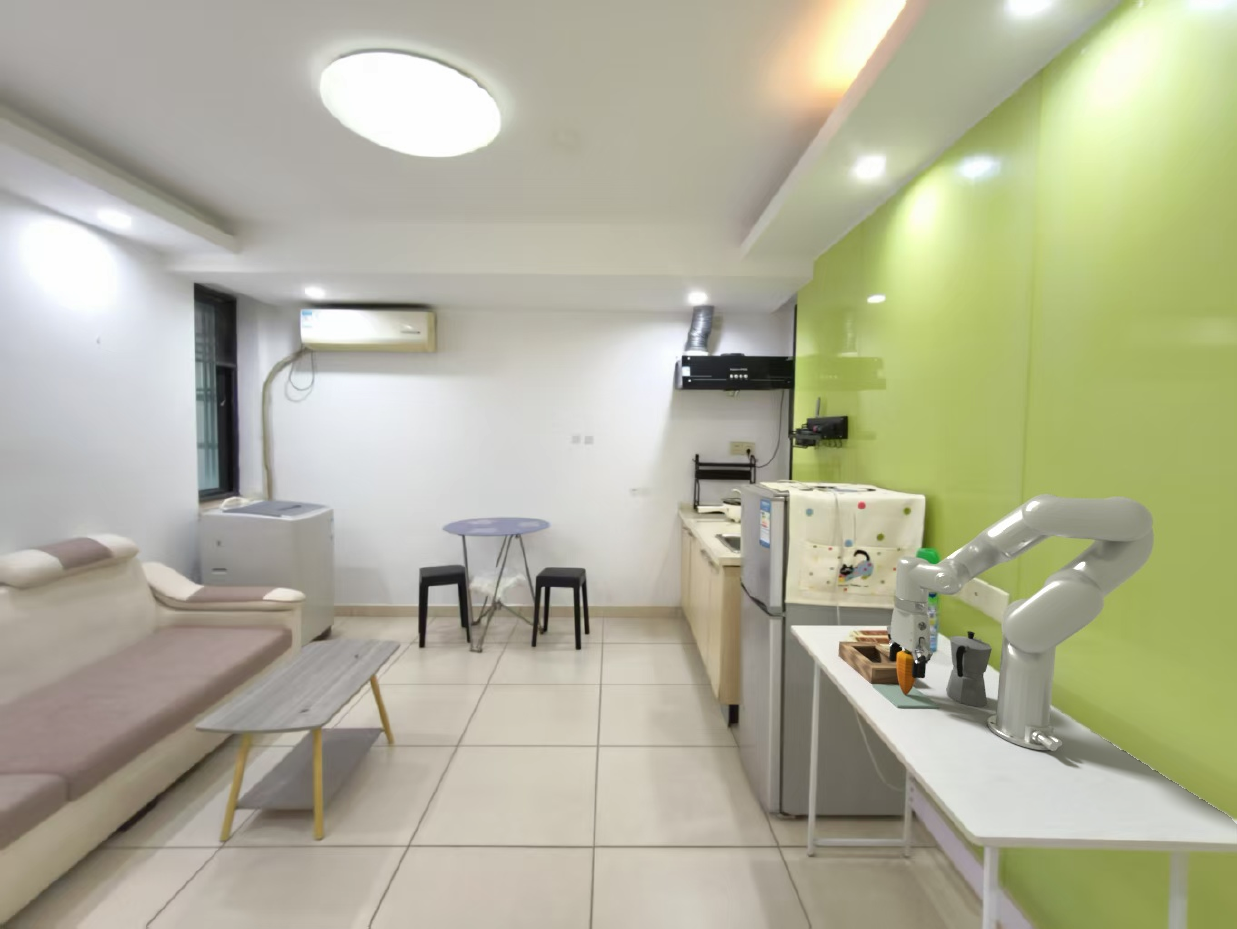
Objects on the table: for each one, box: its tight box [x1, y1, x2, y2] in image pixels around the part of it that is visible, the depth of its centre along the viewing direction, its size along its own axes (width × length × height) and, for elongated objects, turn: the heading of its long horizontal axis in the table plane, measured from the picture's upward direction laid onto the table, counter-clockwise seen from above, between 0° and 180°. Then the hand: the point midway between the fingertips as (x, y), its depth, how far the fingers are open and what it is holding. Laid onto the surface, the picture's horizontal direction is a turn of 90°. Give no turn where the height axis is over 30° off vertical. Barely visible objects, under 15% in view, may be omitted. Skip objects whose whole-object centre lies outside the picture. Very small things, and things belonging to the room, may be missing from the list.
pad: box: [871, 684, 940, 709], centre depth 132 cm, size 11×11×1 cm
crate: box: [837, 641, 899, 685], centre depth 148 cm, size 18×12×5 cm, turn 4°
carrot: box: [897, 647, 917, 695], centre depth 132 cm, size 5×5×15 cm
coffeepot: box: [945, 630, 992, 708], centre depth 132 cm, size 15×9×18 cm, turn 129°
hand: (906, 669), depth 132 cm, fingers open, 9 cm apart
